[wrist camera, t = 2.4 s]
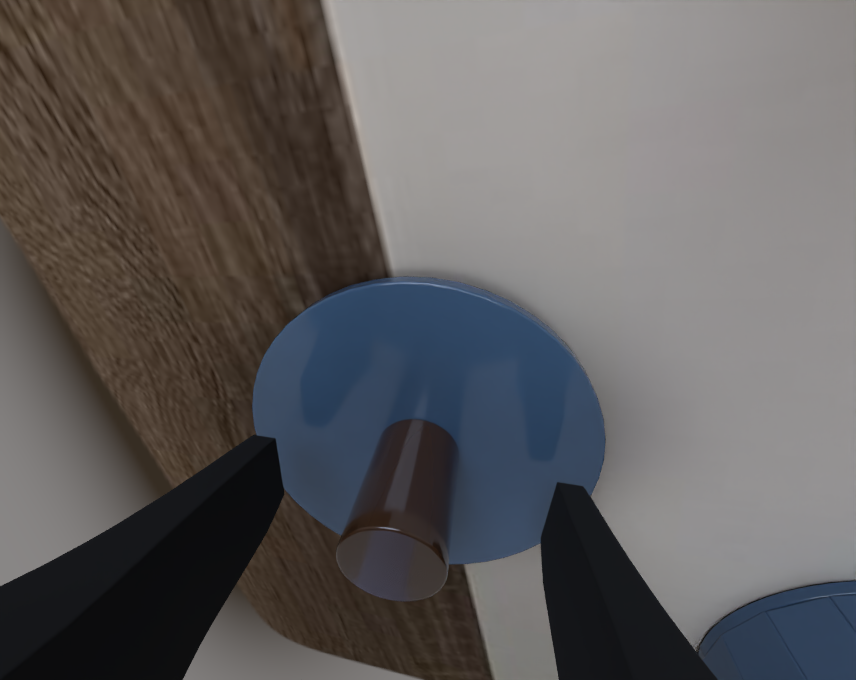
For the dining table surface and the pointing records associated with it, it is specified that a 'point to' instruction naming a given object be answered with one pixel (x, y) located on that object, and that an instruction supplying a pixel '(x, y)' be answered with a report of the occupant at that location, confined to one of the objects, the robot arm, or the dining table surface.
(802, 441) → the dining table surface
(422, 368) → the lid
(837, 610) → the bowl
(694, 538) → the dining table surface
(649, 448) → the dining table surface
